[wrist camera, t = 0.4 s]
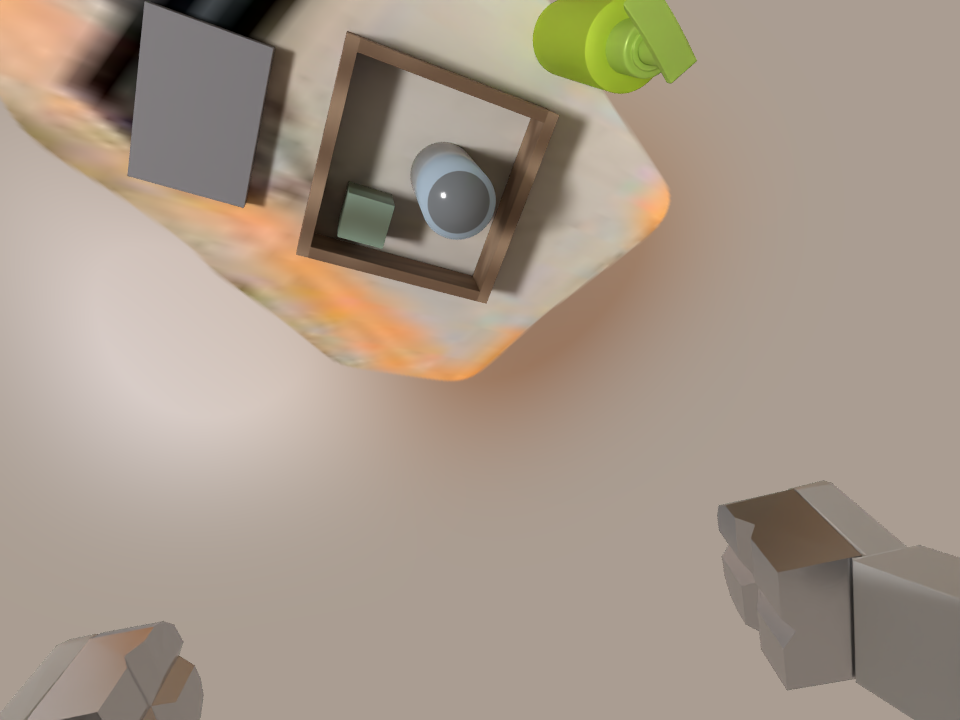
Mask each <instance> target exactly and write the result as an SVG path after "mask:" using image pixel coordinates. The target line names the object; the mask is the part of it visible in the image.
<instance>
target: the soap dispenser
mask: <svg viewBox="0 0 960 720" xmlns="http://www.w3.org/2000/svg"><path fill="white" fill-rule="evenodd" d="M533 47H534V52H535V55H536V57H537V59H538V61H539V63H540V64H541V65H542V66H543V68H545V69H546V70H547V71H548V72H550V73H552V74H555V75H558V76H561V77H564V78H567V79H571V80H574V81H577V82H580V83H583V84H586V85H590V86H593V87H596V88H599V89H602V90H605V91H609V92H612V93H618V94H621V93H622V94H623V93H629V92H632V91H635V90H637V89H639V88H641V87H642V86H644V85H645V84H646V83H648V82H649V81H650V80H651V79H652V78H653V77H654V76H656V75H658V74H659V73H662V74H663V76H664V78H665V80H666V82H667V83H673V82H674V81H675V80H676V79H677V78H678V77H679V76H680V75H681V74H683V73H684V72H685V71H686V70H687V69H688V68H690V67H691V66H692V65H693V64H694V63H695V62H696V61H697V60H696V58H695V56H694V54H693V52H692V49H691V47H690V45H689V43H688V41H687V39H686V37H685V35H684V34H683V31H682V29H681V27H680V25H679V24H678V22H677V20H676V18H675V16H674V15H673V13H672V12H671V10H670V8H669V6H668V5H667V3H666V1H665V0H557V1H555V2H553V3H552V4H550V5H549V6H548V7H547V8H546V9H545V10H544V11H543V12H542V13H541V15H540V16H539V18H538V20H537V22H536V25H535V28H534V33H533Z"/></svg>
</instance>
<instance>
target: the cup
mask: <svg viewBox="0 0 960 720" xmlns="http://www.w3.org/2000/svg"><path fill="white" fill-rule="evenodd" d="M410 179H411V184H412V188H413V190H414V193H415V195H416V198H417V201H418V203H419V206H420V208H421V211H422V214H423V216H424V218H425V221H426V222H427V224H428V225H429V226H430V228H431V229H432V230H433V231H434V232H436V233H437V234H439V235H441V236H443V237H445V238H449V239H456V240H457V239H466V238H469V237H472V236H474V235H476V234H477V233H479V232H480V231H482V230H483V229H484V228H485V227H486V226H487V224H488V223H489V222H490V220H491V218H492V216H493V214H494V210H495V205H496V196H495V191H494V188H493V185H492V183H491V181H490V180H489V178H488V177H487V176H486V175H485V174H484V172H483V171H482V170H481V169H480V168H479V167H478V165H477V164H476V163H475V162H474V161H473V159H472V158H471V157H470V156H469V155H468V154H467V153H466V151H465V150H463V149H462V148H461V147H459V146H457V145H455V144H452V143H448V142H438V143H434V144H431V145H429V146H427V147H425V148H424V149H423V150H422V151H421V152H420V153H419V154H418V155H417V156H416V158H415V160H414V161H413V164H412V167H411V173H410Z"/></svg>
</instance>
